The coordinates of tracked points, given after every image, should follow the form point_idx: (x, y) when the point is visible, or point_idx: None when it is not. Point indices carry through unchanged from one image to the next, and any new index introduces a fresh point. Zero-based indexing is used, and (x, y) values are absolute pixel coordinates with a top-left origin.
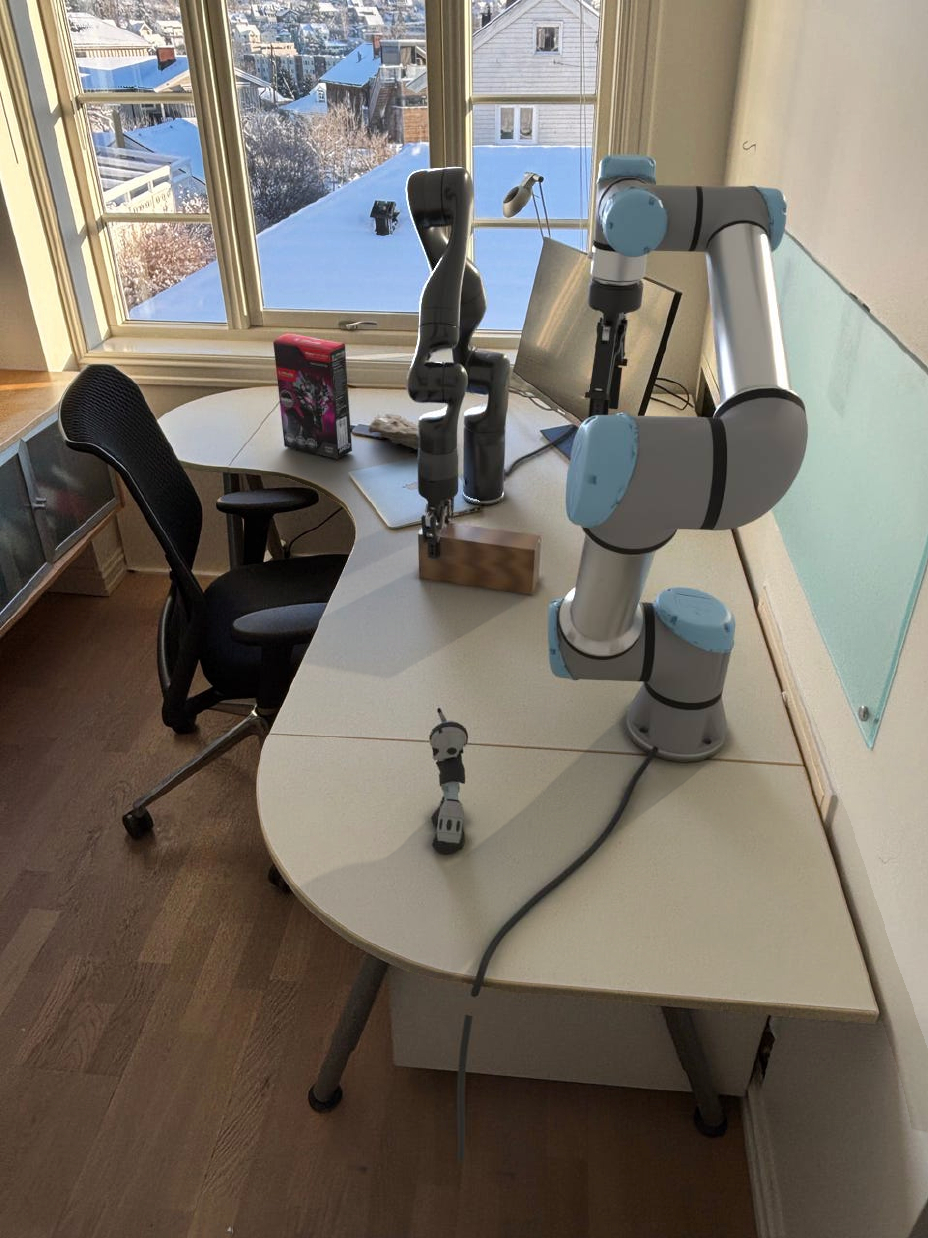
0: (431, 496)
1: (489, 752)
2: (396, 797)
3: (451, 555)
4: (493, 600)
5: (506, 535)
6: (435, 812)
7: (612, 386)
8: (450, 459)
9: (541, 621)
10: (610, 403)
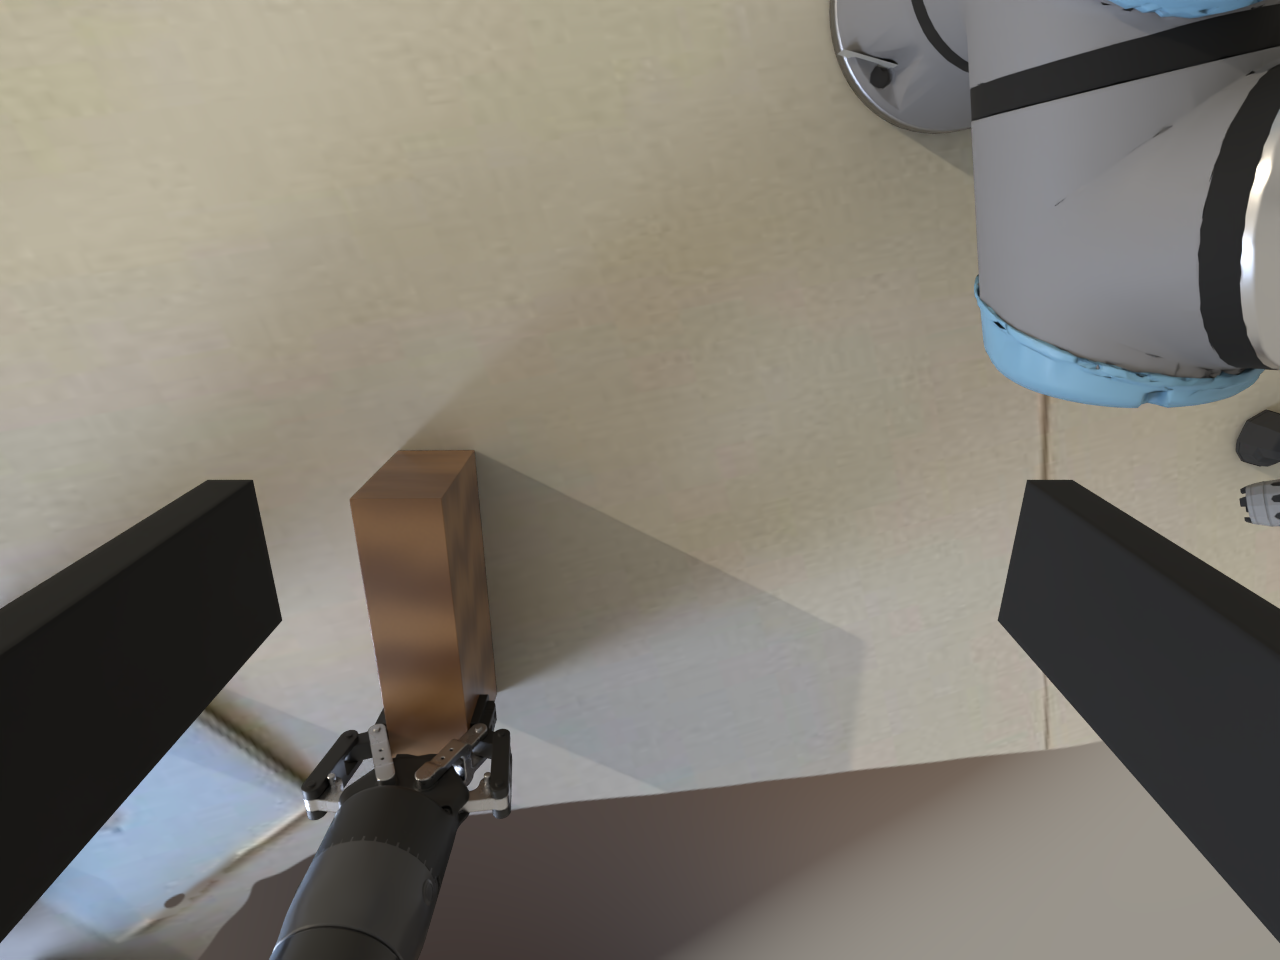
0: (451, 841)
1: (1067, 410)
2: (1198, 534)
3: (475, 673)
4: (529, 528)
5: (391, 586)
6: (1274, 463)
7: (123, 668)
8: (378, 909)
9: (580, 405)
10: (242, 567)
